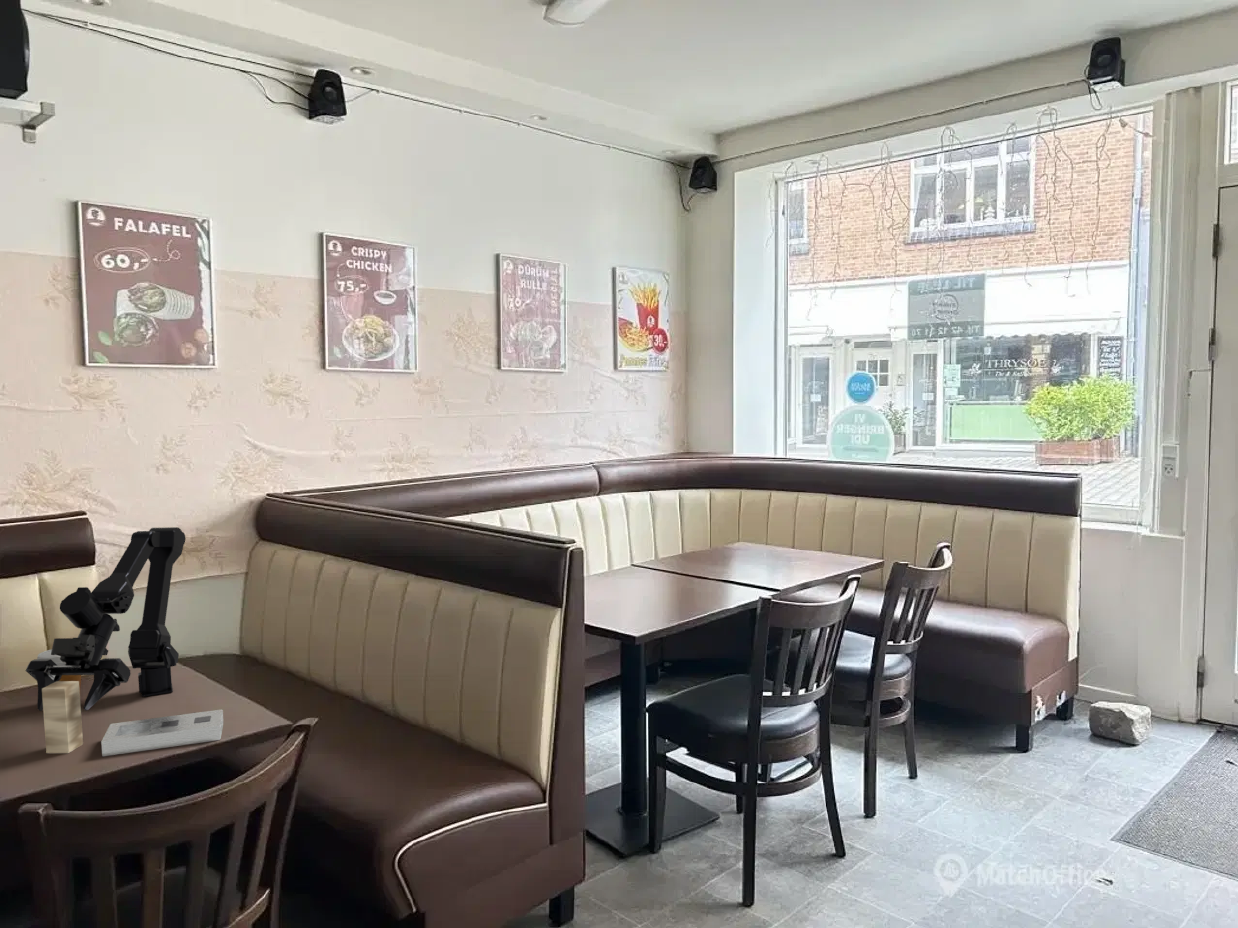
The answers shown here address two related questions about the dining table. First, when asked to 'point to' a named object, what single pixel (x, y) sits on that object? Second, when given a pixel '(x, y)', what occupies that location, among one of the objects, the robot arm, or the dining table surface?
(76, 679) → the disposable coffee cup
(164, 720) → the white flat block
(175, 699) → the dining table surface
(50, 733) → the beech peg
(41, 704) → the robot arm
